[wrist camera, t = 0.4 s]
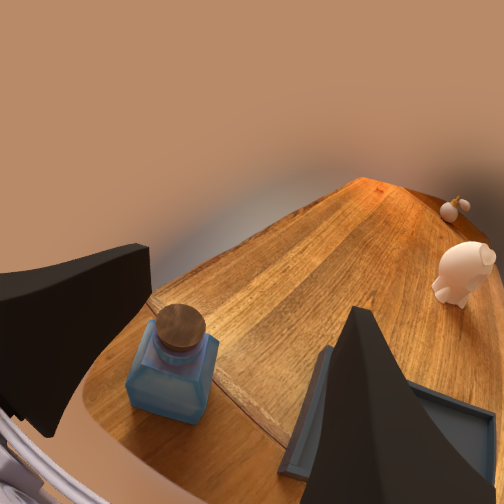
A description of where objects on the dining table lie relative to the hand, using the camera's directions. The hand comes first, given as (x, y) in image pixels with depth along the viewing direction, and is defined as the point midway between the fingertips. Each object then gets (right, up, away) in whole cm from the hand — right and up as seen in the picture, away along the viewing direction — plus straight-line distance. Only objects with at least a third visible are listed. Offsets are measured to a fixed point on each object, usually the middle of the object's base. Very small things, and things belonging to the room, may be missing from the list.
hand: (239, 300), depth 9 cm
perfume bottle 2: (+74, +13, +79) cm, 109 cm away
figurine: (+43, -7, +43) cm, 61 cm away
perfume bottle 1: (-7, -12, +15) cm, 20 cm away
